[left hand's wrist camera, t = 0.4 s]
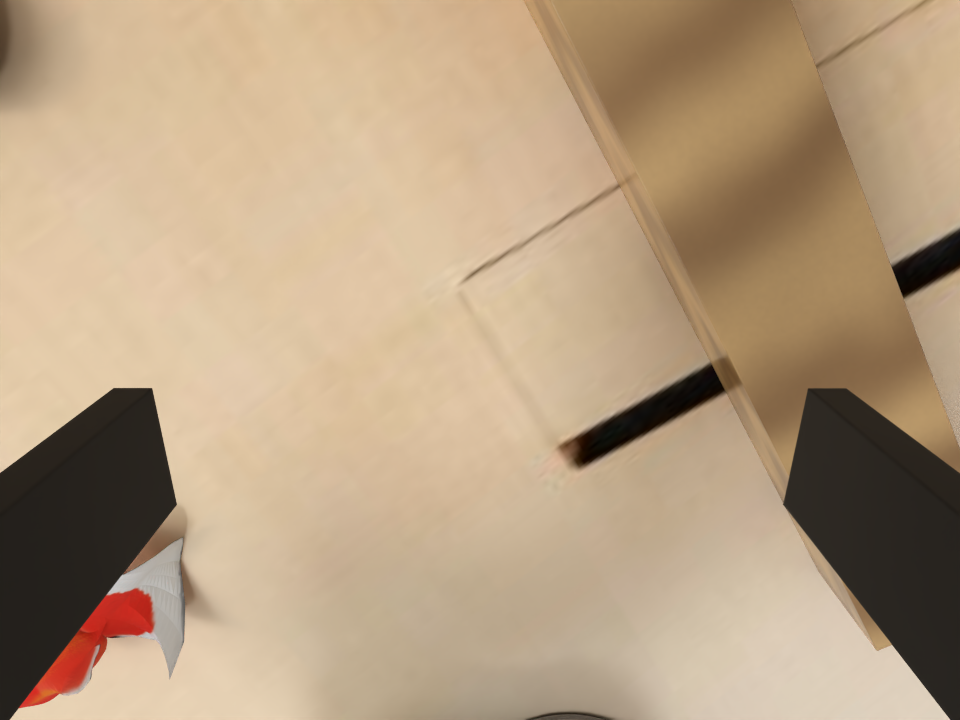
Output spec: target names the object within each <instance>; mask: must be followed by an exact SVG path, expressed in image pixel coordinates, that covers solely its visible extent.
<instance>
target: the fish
mask: <svg viewBox="0 0 960 720" xmlns="http://www.w3.org/2000/svg"><path fill="white" fill-rule="evenodd" d="M182 548H183V537H182V538H180V539H178V540H176V541H174V542H173V543H171V544H170V545H169V546H167V547H166V548H165V549H163V550H162V551H161V552H160V553H158V554H157V555H156V556H154V557H153V558H152V559H150V560H148V561H147V562H145V563H143V564H142V565H140V566H138V567H137V568H135V569H133V570H131V571H129V572H128V573H126V574H122V576H121V577H120V578H119V580H118V581H117V582H116V583H115V585H114V586H113V587H112V589H111V590H110V591H109V592H108V594H107V595H106V596H105V598H104V599H103V600H102V601H101V603H100V604H99V605H98V607H97V608H96V609H95V610H94V612H93V613H92V614H91V616H90V617H89V618H88V619H87V621H86V622H85V623H84V625H83V626H82V627H81V628H80V630H79V631H78V632H77V634H76V635H75V636H74V637H73V639H72V640H71V641H70V643H69V644H68V645H67V646H66V648H65V649H64V650H63V652H62V653H61V654H60V655H59V657H58V658H57V659H56V661H55V662H54V663H53V664H52V666H51V667H50V668H49V670H48V671H47V672H46V673H45V675H44V676H43V677H42V679H41V680H40V681H39V682H38V684H37V685H36V686H35V688H34V689H33V690H32V692H31V693H30V694H29V695H28V697H27V698H26V699H25V701H24V702H23V703H22V704H21V706H20V707H19V708H23V707H28V706H34V705H39V704H43V703H46V702H48V701H50V700H52V699H53V698H55V697H56V696H57V695H58V694H62V695H72V694H77V693H79V692H80V691H81V690H83V689H84V688H85V686H86V685H87V683H88V682H89V681H90V679H91V675H92V668H93V667H94V666H95V665H96V664H97V662H98V661H99V660H100V658H101V656H102V655H103V653H104V652H105V650H106V646H107V638H106V637H108V638H117V637H131V636H139V637H143V638H147V639H154V640H156V641H157V642H158V643H159V644H160V646H161V648H162V650H163V652H164V655H165V658H166V661H167V665H168V670H169V678H170V677H171V675H172V672H173V669H174V667H175V664H176V661H177V659H178V656H179V653H180V651H181V648H182V645H183V643H184V624H185V599H184V591H183V583H182V574H181V565H180V558H181V554H182Z"/></svg>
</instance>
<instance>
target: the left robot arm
mask: <svg viewBox="0 0 960 720" xmlns="http://www.w3.org/2000/svg"><path fill="white" fill-rule="evenodd" d="M176 505H177V503H176V498H175V494H174V489H173V484H172V480H171V475H170V470H169V466H168V461H167V456H166V451H165V447H164V442H163V437H162V433H161V428H160V423H159V419H158V414H157V409H156V405H155V400H154V395H153V390H152V388H113V389H112V390H111V391H109V392H108V393H107V394H105V395H104V396H103V397H101V398H100V399H99V400H97V401H96V402H95V403H93V404H92V405H91V406H89V407H88V408H87V409H85V410H84V411H83V412H81V413H80V414H79V415H77V416H76V417H75V418H73V419H72V420H71V421H69V422H68V423H67V424H65V425H64V426H63V427H61V428H60V429H59V430H57V431H56V432H55V433H53V434H52V435H51V436H49V437H48V438H47V439H45V440H44V441H43V442H41V443H40V444H38V445H37V446H36V447H34V448H33V449H32V450H30V451H29V452H28V453H26V454H25V455H24V456H22V457H21V458H20V459H18V460H17V461H16V462H14V463H13V464H12V465H10V466H9V467H8V468H6V469H5V470H4V471H2V472H1V473H0V720H10V719H11V717H12V716H13V715H14V713H15V712H16V711H17V710H18V708H19V707H20V706H21V704H22V703H23V702H24V701H25V699H26V698H27V697H28V695H29V694H30V693H31V692H32V690H33V689H34V688H35V686H36V685H37V684H38V682H39V681H40V680H41V679H42V677H43V676H44V675H45V673H46V672H47V671H48V670H49V668H50V667H51V666H52V664H53V663H54V662H55V661H56V659H57V658H58V657H59V655H60V654H61V653H62V652H63V650H64V649H65V648H66V646H67V645H68V644H69V643H70V641H71V640H72V639H73V637H74V636H75V635H76V634H77V632H78V631H79V630H80V628H81V627H82V626H83V625H84V623H85V622H86V621H87V619H88V618H89V617H90V616H91V614H92V613H93V612H94V610H95V609H96V608H97V607H98V605H99V604H100V603H101V601H102V600H103V599H104V598H105V596H106V595H107V594H108V592H109V591H110V590H111V589H112V587H113V586H114V585H115V583H116V582H117V581H118V580H119V578H120V577H121V576H122V574H123V573H124V572H125V571H126V569H127V568H128V567H129V565H130V564H131V563H132V562H133V560H134V559H135V558H136V556H137V555H138V554H139V553H140V551H141V550H142V549H143V547H144V546H145V545H146V544H147V542H148V541H149V540H150V538H151V537H152V536H153V535H154V533H155V532H156V531H157V529H158V528H159V527H160V526H161V524H162V523H163V522H164V520H165V519H166V518H167V516H168V515H169V514H170V513H171V511H172V510H173V509H174V507H175V506H176ZM783 505H784V506H785V507H786V509H787V510H788V511H789V513H790V514H791V515H792V516H793V518H794V519H795V520H796V522H797V523H798V524H799V526H800V527H801V528H802V529H803V531H804V532H805V533H806V535H807V536H808V537H809V538H810V540H811V541H812V542H813V544H814V545H815V546H816V547H817V549H818V550H819V551H820V553H821V554H822V555H823V556H824V558H825V559H826V560H827V562H828V563H829V564H830V565H831V567H832V568H833V569H834V571H835V572H836V573H837V574H838V576H839V577H840V578H841V580H842V581H843V582H844V583H845V585H846V586H847V587H848V589H849V590H850V591H851V592H852V594H853V595H854V596H855V598H856V599H857V600H858V601H859V603H860V604H861V605H862V607H863V608H864V609H865V610H866V612H867V613H868V614H869V616H870V617H871V618H872V619H873V621H874V622H875V623H876V625H877V626H878V627H879V628H880V630H881V631H882V632H883V634H884V635H885V636H886V637H887V639H888V640H889V641H890V643H891V644H892V645H893V646H894V648H895V649H896V650H897V652H898V653H899V654H900V655H901V657H902V658H903V659H904V661H905V662H906V663H907V664H908V666H909V667H910V668H911V670H912V671H913V672H914V673H915V675H916V676H917V677H918V679H919V680H920V681H921V683H922V684H923V685H924V686H925V688H926V689H927V690H928V692H929V693H930V694H931V695H932V697H933V698H934V699H935V701H936V702H937V703H938V704H939V706H940V707H941V708H942V710H943V711H944V712H945V713H946V715H947V716H948V717H949V719H950V720H960V473H959V472H958V471H956V470H955V469H954V468H952V467H951V466H950V465H948V464H947V463H946V462H944V461H943V460H942V459H940V458H939V457H938V456H936V455H935V454H934V453H932V452H931V451H930V450H928V449H927V448H926V447H924V446H923V445H922V444H920V443H919V442H917V441H916V440H915V439H913V438H912V437H911V436H909V435H908V434H907V433H905V432H904V431H903V430H901V429H900V428H899V427H897V426H896V425H895V424H893V423H892V422H891V421H889V420H888V419H887V418H885V417H884V416H883V415H881V414H880V413H879V412H877V411H876V410H875V409H873V408H872V407H871V406H869V405H868V404H867V403H865V402H864V401H863V400H861V399H860V398H859V397H857V396H856V395H855V394H853V393H852V392H851V391H849V390H848V389H847V388H808V390H807V395H806V400H805V404H804V409H803V414H802V419H801V423H800V428H799V433H798V437H797V442H796V447H795V451H794V456H793V461H792V466H791V470H790V475H789V480H788V484H787V489H786V494H785V498H784V503H783ZM533 720H605V719H601V718H597V717H593V716H587V715H578V714H560V715H551V716H545V717H540V718H537V719H533Z"/></svg>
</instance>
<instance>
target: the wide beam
mask: <svg viewBox="0 0 960 720" xmlns="http://www.w3.org/2000/svg"><path fill="white" fill-rule="evenodd" d="M524 2H525V4H526V5H527V7H528V9H529V11H530V13H531V15H532V17H533V19H534V21H535V23H536V25H537V27H538V29H539V31H540V33H541V35H542V36H543V38H544V40H545V42H546V44H547V46H548V48H549V50H550V52H551V54H552V56H553V58H554V60H555V62H556V64H557V66H558V67H559V69H560V71H561V73H562V75H563V77H564V79H565V81H566V83H567V85H568V87H569V89H570V91H571V93H572V95H573V97H574V98H575V100H576V102H577V104H578V106H579V108H580V110H581V112H582V114H583V116H584V118H585V120H586V122H587V124H588V126H589V127H590V129H591V131H592V133H593V135H594V137H595V139H596V141H597V143H598V145H599V147H600V149H601V151H602V153H603V155H604V157H605V158H606V160H607V162H608V164H609V166H610V168H611V170H612V172H613V174H614V176H615V178H616V180H617V182H618V184H619V186H620V188H621V189H622V191H623V193H624V195H625V197H626V199H627V201H628V203H629V205H630V207H631V209H632V211H633V213H634V215H635V217H636V218H637V220H638V222H639V224H640V226H641V228H642V230H643V232H644V234H645V236H646V238H647V240H648V242H649V244H650V246H651V248H652V249H653V251H654V253H655V255H656V257H657V259H658V261H659V263H660V265H661V267H662V269H663V271H664V273H665V275H666V277H667V279H668V280H669V282H670V284H671V286H672V288H673V290H674V292H675V294H676V296H677V298H678V300H679V302H680V304H681V306H682V308H683V309H684V311H685V313H686V315H687V317H688V319H689V321H690V323H691V325H692V327H693V329H694V331H695V333H696V335H697V337H698V339H699V340H700V342H701V344H702V346H703V348H704V350H705V352H706V354H707V356H708V358H709V360H710V362H711V364H712V366H713V368H714V370H715V371H716V373H717V375H718V377H719V379H720V381H721V383H722V385H723V387H724V389H725V391H726V393H727V395H728V397H729V399H730V401H731V402H732V404H733V406H734V408H735V410H736V412H737V414H738V416H739V418H740V420H741V422H742V424H743V426H744V428H745V430H746V431H747V433H748V435H749V437H750V439H751V441H752V443H753V445H754V447H755V449H756V451H757V453H758V455H759V457H760V459H761V461H762V462H763V464H764V466H765V468H766V470H767V472H768V474H769V476H770V478H771V480H772V482H773V484H774V486H775V488H776V490H777V492H778V493H779V495H780V497H781V499H782V501H783V503H784V498H785V494H786V489H787V484H788V480H789V475H790V470H791V466H792V461H793V456H794V451H795V447H796V442H797V437H798V433H799V428H800V423H801V419H802V414H803V409H804V404H805V400H806V395H807V390H808V388H847V389H848V390H849V391H851V392H852V393H853V394H855V395H856V396H857V397H859V398H860V399H861V400H863V401H864V402H865V403H867V404H868V405H869V406H871V407H872V408H873V409H875V410H876V411H877V412H879V413H880V414H881V415H883V416H884V417H885V418H887V419H888V420H889V421H891V422H892V423H893V424H895V425H896V426H897V427H899V428H900V429H901V430H903V431H904V432H905V433H907V434H908V435H909V436H911V437H912V438H913V439H915V440H916V441H917V442H919V443H920V444H922V445H923V446H924V447H926V448H927V449H928V450H930V451H931V452H932V453H934V454H935V455H936V456H938V457H939V458H940V459H942V460H943V461H944V462H946V463H947V464H948V465H950V466H951V467H952V468H954V469H955V470H956V471H958V472H959V473H960V448H959V445H958V443H957V440H956V437H955V435H954V432H953V429H952V427H951V424H950V421H949V419H948V416H947V413H946V411H945V408H944V406H943V403H942V400H941V398H940V395H939V392H938V390H937V387H936V384H935V382H934V379H933V376H932V374H931V371H930V368H929V366H928V363H927V360H926V358H925V355H924V352H923V350H922V347H921V344H920V342H919V339H918V336H917V334H916V331H915V328H914V326H913V323H912V321H911V318H910V315H909V313H908V310H907V307H906V305H905V302H904V299H903V297H902V294H901V291H900V289H899V286H898V283H897V281H896V278H895V275H894V273H893V270H892V267H891V265H890V262H889V259H888V257H887V254H886V251H885V249H884V246H883V243H882V241H881V238H880V236H879V233H878V230H877V228H876V225H875V222H874V220H873V217H872V214H871V212H870V209H869V206H868V204H867V201H866V198H865V196H864V193H863V190H862V188H861V185H860V182H859V180H858V177H857V174H856V172H855V169H854V166H853V164H852V161H851V158H850V156H849V153H848V151H847V148H846V145H845V143H844V140H843V137H842V135H841V132H840V129H839V127H838V124H837V121H836V119H835V116H834V113H833V111H832V108H831V105H830V103H829V100H828V97H827V95H826V92H825V89H824V87H823V84H822V81H821V79H820V76H819V74H818V71H817V68H816V66H815V63H814V60H813V58H812V55H811V52H810V50H809V47H808V44H807V42H806V39H805V36H804V34H803V31H802V28H801V26H800V23H799V20H798V18H797V15H796V12H795V10H794V7H793V4H792V2H791V0H524ZM787 511H788V510H787ZM788 513H789V511H788ZM789 515H790V517H791V519H792V521H793V522H794V524H795V526H796V528H797V530H798V532H799V534H800V536H801V538H802V540H803V542H804V544H805V546H806V548H807V550H808V552H809V553H810V555H811V557H812V559H813V561H814V563H815V565H816V567H817V569H818V571H819V573H820V574H821V576H822V577H823V578H824V580H825V581H826V582H827V584H828V585H829V586H830V588H831V589H832V591H833V592H834V593H835V595H836V596H837V597H838V599H839V600H840V601H841V603H842V604H843V606H844V607H845V608H846V610H847V611H848V612H849V614H850V615H851V616H852V618H853V619H854V621H855V622H856V623H857V625H858V626H859V627H860V629H861V630H862V631H863V633H864V634H865V636H866V637H867V638H868V640H869V641H870V642H871V644H872V645H873V646H874V648H875V649H876V650H877V651H878V650H881V649H883V648H885V647H888V646H890V645H892V644H891V643H890V641H889V640H888V639H887V637H886V636H885V635H884V634H883V632H882V631H881V630H880V628H879V627H878V626H877V625H876V623H875V622H874V621H873V619H872V618H871V617H870V616H869V614H868V613H867V612H866V610H865V609H864V608H863V607H862V605H861V604H860V603H859V601H858V600H857V599H856V598H855V596H854V595H853V594H852V592H851V591H850V590H849V589H848V587H847V586H846V585H845V583H844V582H843V581H842V580H841V578H840V577H839V576H838V574H837V573H836V572H835V571H834V569H833V568H832V567H831V565H830V564H829V563H828V562H827V560H826V559H825V558H824V556H823V555H822V554H821V553H820V551H819V550H818V549H817V547H816V546H815V545H814V544H813V542H812V541H811V540H810V538H809V537H808V536H807V535H806V533H805V532H804V531H803V529H802V528H801V527H800V526H799V524H798V523H797V522H796V520H795V519H794V518H793V516H792V515H791V514H790V513H789Z"/></svg>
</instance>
